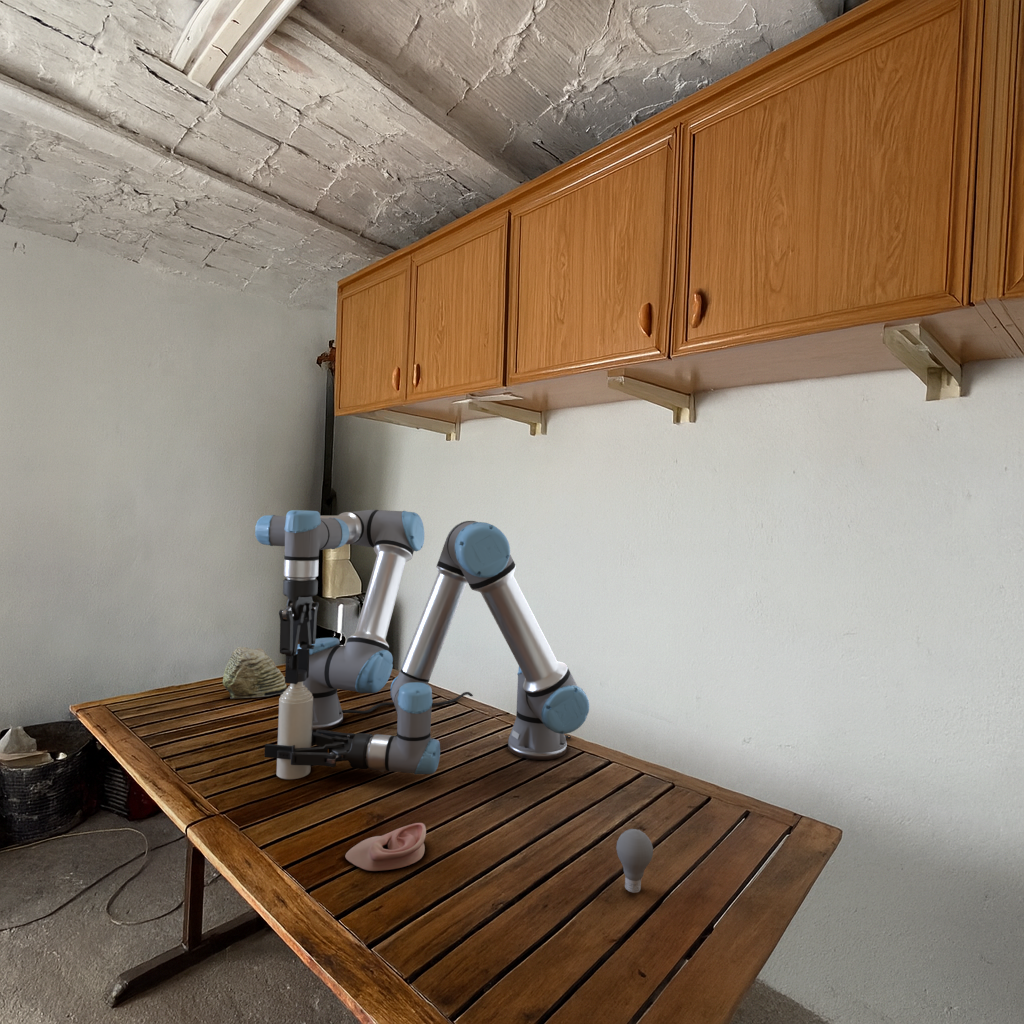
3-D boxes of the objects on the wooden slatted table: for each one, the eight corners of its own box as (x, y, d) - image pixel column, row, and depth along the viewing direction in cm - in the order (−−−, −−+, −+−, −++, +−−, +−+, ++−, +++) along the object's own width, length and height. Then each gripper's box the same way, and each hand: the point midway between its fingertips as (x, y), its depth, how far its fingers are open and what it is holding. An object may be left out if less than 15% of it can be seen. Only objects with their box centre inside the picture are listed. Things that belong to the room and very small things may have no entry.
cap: (291, 676, 147) (291, 668, 147) (309, 677, 147) (309, 669, 147) (284, 681, 142) (285, 673, 142) (302, 682, 142) (303, 674, 142)
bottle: (274, 780, 140) (278, 679, 140) (278, 766, 148) (281, 670, 147) (309, 778, 142) (313, 678, 142) (311, 764, 149) (315, 669, 149)
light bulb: (610, 879, 108) (613, 822, 108) (644, 879, 109) (647, 822, 109) (619, 902, 102) (622, 840, 102) (655, 901, 103) (658, 840, 103)
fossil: (218, 695, 195) (220, 647, 195) (278, 685, 208) (279, 640, 207) (228, 703, 189) (230, 653, 188) (289, 692, 201) (290, 645, 201)
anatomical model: (337, 842, 109) (366, 811, 120) (336, 865, 109) (365, 832, 120) (410, 854, 106) (432, 821, 117) (409, 878, 106) (432, 842, 118)
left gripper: (305, 573, 153) (301, 669, 154) (264, 581, 136) (260, 689, 137) (333, 575, 152) (329, 672, 152) (296, 583, 135) (291, 692, 135)
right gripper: (354, 788, 133) (250, 779, 135) (383, 750, 153) (293, 743, 155) (356, 753, 133) (252, 744, 135) (384, 719, 153) (294, 712, 155)
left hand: (296, 679), depth 145 cm, fingers closed on cap, 4 cm apart
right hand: (274, 743), depth 145 cm, fingers closed on bottle, 7 cm apart
